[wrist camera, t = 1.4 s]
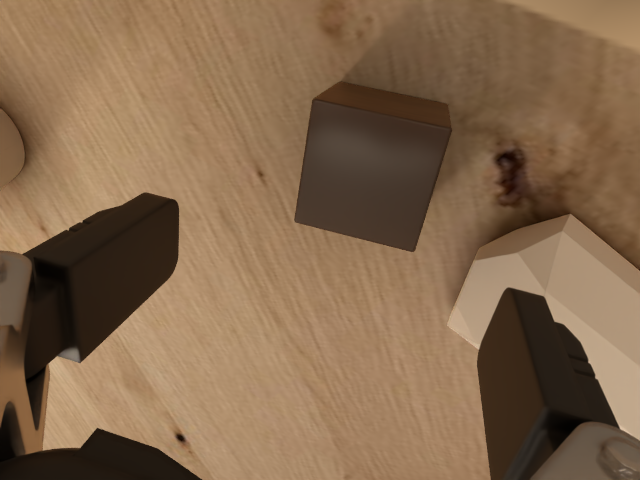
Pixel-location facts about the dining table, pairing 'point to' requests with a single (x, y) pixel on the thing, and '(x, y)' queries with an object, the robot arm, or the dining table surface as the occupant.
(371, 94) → the walnut block
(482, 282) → the crystal
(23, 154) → the cup
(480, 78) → the dining table surface
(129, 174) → the dining table surface
